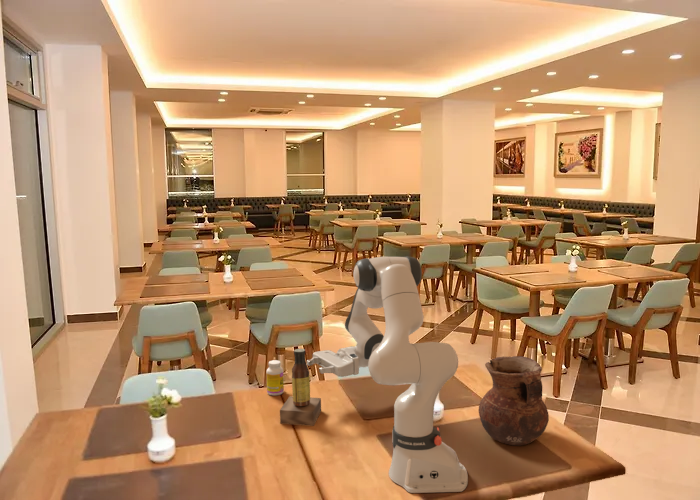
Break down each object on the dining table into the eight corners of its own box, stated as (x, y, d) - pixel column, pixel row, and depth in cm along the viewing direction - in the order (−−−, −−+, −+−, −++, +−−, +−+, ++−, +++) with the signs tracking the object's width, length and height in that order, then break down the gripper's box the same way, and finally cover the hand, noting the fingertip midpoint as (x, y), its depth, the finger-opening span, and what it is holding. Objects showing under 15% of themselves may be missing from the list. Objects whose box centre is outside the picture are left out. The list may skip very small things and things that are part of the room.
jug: (466, 436, 178) (467, 364, 175) (496, 415, 193) (498, 348, 190) (530, 460, 163) (533, 381, 160) (558, 435, 178) (561, 362, 175)
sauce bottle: (313, 402, 195) (313, 349, 192) (303, 408, 189) (303, 354, 187) (299, 399, 198) (298, 346, 196) (288, 404, 193) (288, 350, 190)
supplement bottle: (282, 396, 213) (281, 364, 212) (265, 396, 213) (264, 365, 212) (284, 389, 220) (283, 359, 218) (268, 389, 220) (267, 359, 218)
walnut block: (321, 410, 199) (320, 398, 199) (313, 425, 188) (313, 412, 187) (289, 409, 201) (289, 396, 201) (280, 423, 190) (279, 410, 189)
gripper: (331, 344, 211) (300, 350, 203) (360, 359, 194) (327, 366, 186) (332, 359, 212) (300, 366, 204) (361, 375, 194) (327, 384, 187)
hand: (313, 367), depth 195 cm, fingers open, 8 cm apart
